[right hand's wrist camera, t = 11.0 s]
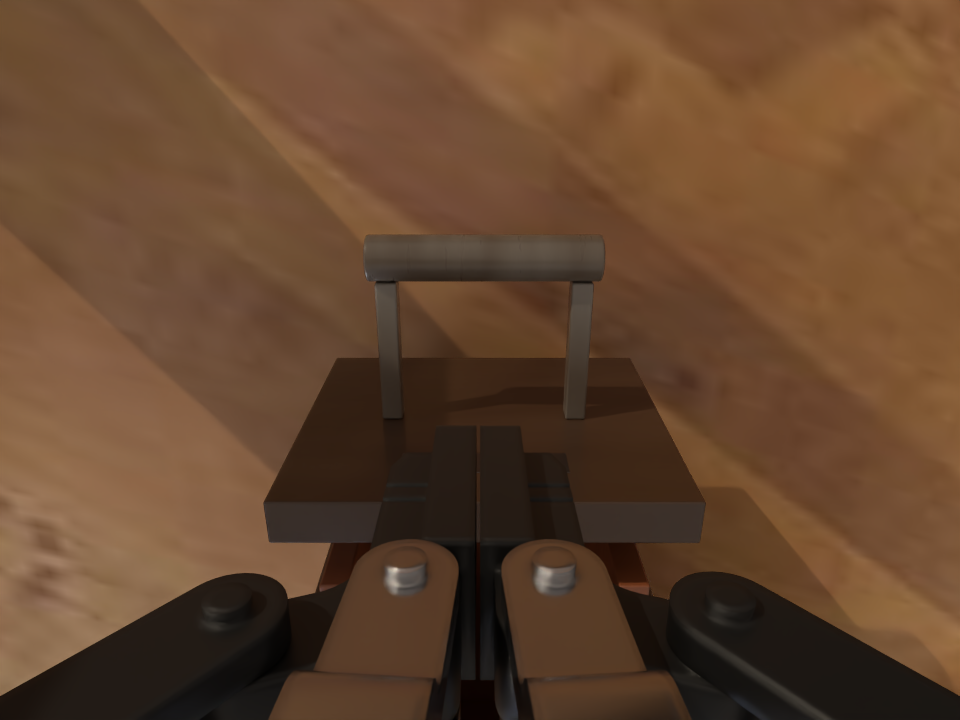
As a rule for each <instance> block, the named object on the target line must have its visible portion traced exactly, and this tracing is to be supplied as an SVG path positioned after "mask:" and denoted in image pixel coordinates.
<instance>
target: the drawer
mask: <svg viewBox="0 0 960 720" xmlns="http://www.w3.org/2000/svg"><path fill="white" fill-rule="evenodd" d="M363 262H364V272H365V276H366V279H367V281H376V283H375V300H376V317H377V333H378V349H379V358H337V359H336V361H335V363H334V365H333V367H332V369H331V371H330V373H329V375H328V377H327V379H326V381H325V383H324V385H323V387H322V389H321V391H320V393H319V395H318V397H317V399H316V401H315V403H314V405H313V407H312V408H311V410H310V412H309V414H308V416H307V418H306V420H305V422H304V424H303V426H302V428H301V430H300V432H299V434H298V436H297V438H296V440H295V442H294V444H293V446H292V448H291V450H290V452H289V454H288V456H287V458H286V460H285V461H284V463H283V465H282V467H281V469H280V471H279V473H278V475H277V477H276V479H275V481H274V483H273V485H272V487H271V489H270V491H269V493H268V495H267V497H266V499H265V501H264V510H265V517H266V524H267V531H268V538H269V542H271V543H333V544H332V547H331V551H330V554H329V557H328V560H327V563H326V566H325V569H324V573H323V576H322V579H321V582H320V585H319V589H320V592H321V591H325V590H327V589H330V588H333V587H335V586H337V585H339V584H341V583H343V582H345V581H346V580H348V579H349V578H350V576H351V574H352V571H353V569H354V567H355V565H356V563H357V561H358V560H359V559H360V558H361V557H362V556H363V555H364V554H365V553H366V552H368V551H370V547H371V543H372V539H373V535H374V531H375V527H376V523H377V519H378V515H379V511H380V507H381V503H382V502H383V495H384V491H385V487H386V483H387V479H388V475H389V471H390V468H391V466H392V465H393V464H394V463H395V462H396V461H398V460H399V459H400V458H401V457H402V456H403V455H404V454H405V453H406V452H433V444H434V437H435V430H436V425H476V433H477V547H476V671H475V680H461V695H460V714H461V720H499V714H498V711H497V709H496V705H495V688H494V680H480V426H520V427H521V435H522V442H523V450H524V453H551V454H552V455H553V456H554V457H556V458H557V459H558V460H559V461H560V462H561V463H562V464H563V465H564V466H565V467H566V470H567V475H568V479H569V483H570V487H571V491H572V495H573V502H574V504H575V508H576V512H577V516H578V520H579V525H580V529H581V533H582V537H583V541H584V545H585V548H587V549H589V550H590V551H592V552H594V553H595V554H596V555H597V556H598V557H599V558H600V559H601V560H602V561H603V563H604V565H605V567H606V569H607V571H608V574H609V576H610V579H611V581H612V583H613V584H615V585H617V586H619V587H622V588H624V589H627V590H630V591H633V592H637V593H641V594H645V595H649V587H650V586H649V583H648V580H647V577H646V574H645V571H644V568H643V565H642V562H641V559H640V556H639V553H638V550H637V546H636V543H699V542H700V538H701V531H702V525H703V518H704V511H705V504H706V503H705V501H704V499H703V497H702V495H701V493H700V491H699V489H698V487H697V485H696V484H695V482H694V480H693V478H692V476H691V474H690V472H689V470H688V468H687V466H686V464H685V463H684V461H683V459H682V457H681V455H680V453H679V451H678V449H677V447H676V445H675V443H674V442H673V440H672V438H671V436H670V434H669V432H668V430H667V428H666V426H665V424H664V422H663V421H662V419H661V417H660V415H659V413H658V411H657V409H656V407H655V405H654V403H653V401H652V400H651V398H650V396H649V394H648V392H647V390H646V388H645V386H644V384H643V382H642V380H641V378H640V377H639V375H638V373H637V371H636V369H635V367H634V365H633V363H632V361H631V359H630V358H589V351H590V335H591V320H592V305H593V290H594V284H593V282H592V281H601V280H602V277H603V274H604V267H605V244H604V239H603V236H602V235H367V236H366V237H365V241H364V249H363ZM398 281H570V286H569V305H568V325H567V344H566V358H402V347H401V326H400V306H399V285H398Z"/></svg>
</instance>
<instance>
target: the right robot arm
mask: <svg viewBox="0 0 960 720" xmlns="http://www.w3.org/2000/svg"><path fill="white" fill-rule="evenodd" d="M476 547H477V433H476V425H436V430H435V437H434V444H433V452H406V453H405V454H404V455H403V456H402V457H401V458H400V459H399V460H398V461H396V462H395V463H394V464H393V465H392V466H391V468H390V471H389V475H388V479H387V483H386V487H385V491H384V495H383V502H382V503H381V507H380V511H379V515H378V519H377V523H376V527H375V531H374V535H373V539H372V543H371V547H370V551H368V552H366V553H365V554H364V555H363V556H362V557H361V558H360V559H359V560H358V561H357V563H356V565H355V567H354V569H353V571H352V574H351V576H350V578H349V579H348V580H346V581H345V582H343V583H341V584H339V585H337V586H335V587H333V588H330V589H327V590H325V591H321V592H317V593H313V594H309V595H304V596H300V597H295V598H291V599H288V597H287V593H286V590H285V589H284V587H283V586H282V585H281V584H280V583H279V582H278V581H277V580H275V579H273V578H271V577H268V576H265V575H261V574H254V573H240V574H232V575H226V576H222V577H219V578H215V579H213V580H210V581H207V582H205V583H203V584H201V585H199V586H197V587H195V588H193V589H192V590H190V591H188V592H186V593H184V594H183V595H181V596H179V597H177V598H175V599H174V600H172V601H170V602H168V603H166V604H165V605H163V606H161V607H159V608H157V609H156V610H154V611H152V612H150V613H149V614H147V615H145V616H143V617H141V618H140V619H138V620H136V621H134V622H132V623H131V624H129V625H127V626H125V627H123V628H122V629H120V630H118V631H116V632H114V633H113V634H111V635H109V636H107V637H106V638H104V639H102V640H100V641H98V642H97V643H95V644H93V645H91V646H89V647H88V648H86V649H84V650H82V651H80V652H79V653H77V654H75V655H73V656H71V657H70V658H68V659H66V660H64V661H63V662H61V663H59V664H57V665H55V666H54V667H52V668H50V669H48V670H46V671H45V672H43V673H41V674H39V675H37V676H36V677H34V678H32V679H30V680H28V681H27V682H25V683H23V684H21V685H20V686H18V687H16V688H14V689H12V690H11V691H9V692H7V693H5V694H3V695H2V696H0V720H461V714H460V695H461V680H475V671H476ZM480 680H494V688H495V705H496V709H497V711H498V714H499V720H960V696H958V695H957V694H955V693H953V692H951V691H949V690H948V689H946V688H944V687H942V686H940V685H939V684H937V683H935V682H933V681H932V680H930V679H928V678H926V677H924V676H923V675H921V674H919V673H917V672H915V671H914V670H912V669H910V668H908V667H906V666H905V665H903V664H901V663H899V662H897V661H896V660H894V659H892V658H890V657H889V656H887V655H885V654H883V653H881V652H880V651H878V650H876V649H874V648H872V647H871V646H869V645H867V644H865V643H863V642H862V641H860V640H858V639H856V638H854V637H853V636H851V635H849V634H847V633H846V632H844V631H842V630H840V629H838V628H837V627H835V626H833V625H831V624H829V623H828V622H826V621H824V620H822V619H820V618H819V617H817V616H815V615H813V614H811V613H810V612H808V611H806V610H804V609H803V608H801V607H799V606H797V605H795V604H794V603H792V602H790V601H788V600H786V599H785V598H783V597H781V596H779V595H777V594H776V593H774V592H772V591H770V590H768V589H767V588H765V587H763V586H761V585H759V584H757V583H755V582H753V581H751V580H749V579H746V578H743V577H741V576H737V575H733V574H728V573H723V572H700V573H694V574H691V575H688V576H686V577H684V578H682V579H680V580H679V581H678V582H677V583H676V584H675V585H674V586H673V588H672V590H671V593H670V599H669V600H668V599H663V598H659V597H654V596H650V595H645V594H641V593H637V592H633V591H630V590H627V589H624V588H622V587H619V586H617V585H615V584H613V583H612V581H611V579H610V576H609V574H608V571H607V569H606V567H605V565H604V563H603V561H602V560H601V559H600V558H599V557H598V556H597V555H596V554H595V553H594V552H592V551H590V550H589V549H587V548H585V545H584V541H583V537H582V533H581V529H580V525H579V520H578V516H577V512H576V508H575V504H574V502H573V495H572V491H571V487H570V483H569V479H568V475H567V470H566V467H565V466H564V465H563V464H562V463H561V462H560V461H559V460H558V459H557V458H556V457H554V456H553V455H552V454H551V453H524V450H523V442H522V435H521V427H520V426H480Z"/></svg>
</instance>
